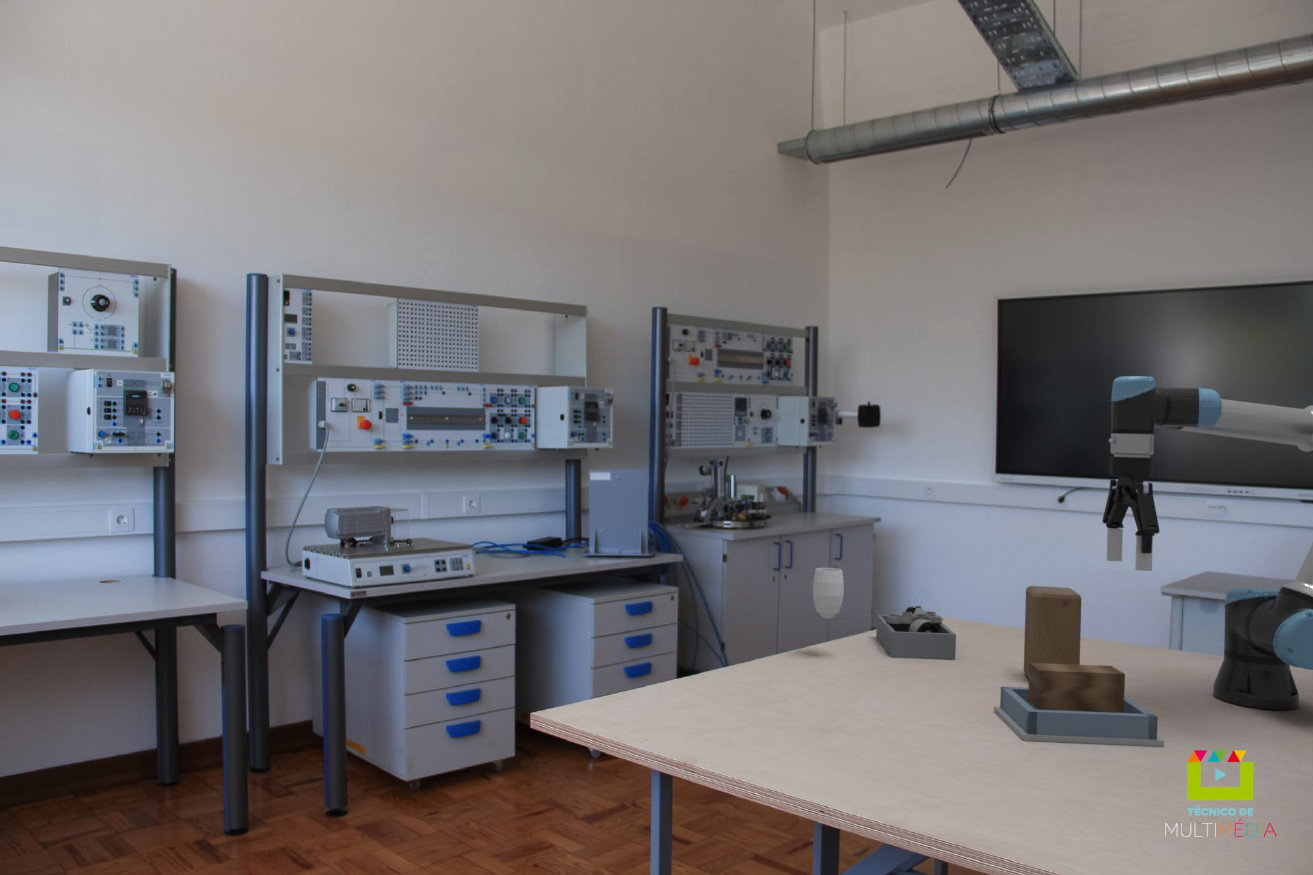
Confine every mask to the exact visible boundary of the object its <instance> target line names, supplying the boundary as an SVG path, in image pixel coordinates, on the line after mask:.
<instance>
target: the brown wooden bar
mask: <svg viewBox="0 0 1313 875" xmlns="http://www.w3.org/2000/svg"><path fill="white" fill-rule="evenodd" d="M1125 682H1126V673H1124V672H1123V671H1121V670H1120V669H1118V668H1116V667H1114V666H1113V665H1102V664H1101V665H1098V664H1097V665H1096V664H1095V665H1093V664H1080V665H1075V664H1048V663H1029V679H1028V688H1029V692H1028V700H1029V701H1030V702H1031V703H1032V704H1033V705H1035V706H1036V707H1037V708H1038V709H1046V710H1071V711H1096V712H1121V713H1124V695H1125V689H1126V688H1125V685H1126V683H1125Z"/></svg>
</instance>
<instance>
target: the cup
mask: <svg viewBox="0 0 1313 875" xmlns="http://www.w3.org/2000/svg"><path fill="white" fill-rule="evenodd" d="M812 582H813V584H812V586H813V587H812V596H813V604H814V608H815V610H816V612H817V613H819V615H820V616H821V618H824V619H826V620H830V619H832V618H835V616H836V615H837V614H839V613H840V611H841V608H842V606H843V601H844V600H843V599H844V594H845V591H844V590H845V588H844V586H845V581H844V573H843V570H842V569H841V568H836V567H835V568H834V567H817V568H815V571H814V576H813V581H812Z"/></svg>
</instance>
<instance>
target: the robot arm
mask: <svg viewBox="0 0 1313 875" xmlns="http://www.w3.org/2000/svg"><path fill="white" fill-rule="evenodd" d="M1110 402H1111V406H1110V407H1111V408H1110V410H1111V420H1110V422H1111V424H1110V425H1111V430H1110V438H1109V439H1108V443H1109V444H1110V453H1111V454H1112V455H1113V456H1111V457H1110V458H1109V474H1110V476H1114V477H1118V478H1117V479H1115V478H1114V479H1113V478H1111V479H1109V480H1110V481H1109V491H1108V496H1107V498H1106V499H1107V500H1106V502H1105V504H1106V505H1105V508H1104V513H1103V517H1102V523H1103V524H1105V526H1106V528H1107V529H1106V530H1107V535H1106V539H1107V540H1106V561H1107V562H1122V561H1123V538H1124V537H1123V532H1124V530H1123V529H1124V528H1125V527H1124V523H1123V521H1124V519H1125V517H1126V514H1127V512H1128V509H1129V508H1130V509H1131V512H1132V516H1133V519H1134V522H1135V525H1136V529H1137V530H1136V532H1135V534H1134V535H1135V536H1136V537H1135V538H1136V539H1135V568H1134V569H1135V571H1139V572H1140V571H1142V572H1143V571H1145V572H1152V571H1153V542H1154V539H1153V538H1154V536H1155V535H1157V534H1160V527H1159V526H1160V525H1159V522H1158V521H1159V520H1158V514H1157V510H1156V509H1157V508H1156V504H1155V499H1154V498H1155V497H1154V491H1153V490H1154V489H1153V486H1154V485H1153V483H1152V482H1145V478H1150V477H1152V476H1153V475H1154V474H1153V473H1154V472H1153V471H1154V460H1153V459H1152V457H1151V456H1152V455H1154V448H1155V445H1154V444H1155V428H1159V429H1167V430H1172V431H1173V430H1174V431H1184V432H1189V433H1190V432H1192V433H1198V434H1208V435H1216V436H1223V437H1230V438H1236V439H1245V440H1251V441H1253V440H1254V441H1260V442H1261V441H1262V442H1268V443H1276V444H1282V445H1290V446H1291V445H1292V446H1297V449H1299V450H1301V451H1302V452H1307V453H1313V405H1308V406H1306V407H1305V408H1296V407H1288V406H1283V405H1282V406H1279V405H1275V404H1274V405H1273V404H1263V403H1255V402H1251V401H1250V402H1247V401H1239V400H1232V399H1225V398H1221V396H1220V394H1219V392H1218V391H1217V390H1215V389H1211V388H1202V387H1159V386H1157V384H1156V379H1155V378H1154V377H1153V376H1143V375H1142V376H1140V375H1138V376H1137V375H1135V376H1134V375H1131V376H1130V375H1127V376H1125V375H1124V376H1118V377H1116V378H1115V379H1114V380H1113V383H1112V388H1111V398H1110ZM1223 606H1224V638H1223V639H1224V640H1223V641H1224V643H1223V644H1224V646H1223V648H1224V649H1223V650H1224V651H1223V660H1222V662H1221V666H1220V667H1219V671H1218V673H1217V675H1216V677H1215V680H1214V683H1213V690H1212V691H1213V692H1212V694H1213V696H1214V697H1215V698H1217V699H1219V700H1221V701H1224V702H1228V703H1231V704H1235V705H1238V706H1241V707H1247V708H1248V707H1249V708H1256V709H1263V710H1276V711H1278V710H1279V711H1285V710H1286V711H1287V710H1294V709H1297V708H1299V706H1300V694H1299V692H1298V689H1297V685H1296V682H1295V679H1294V676H1293V673H1292V669H1291V667H1295V668H1301V669H1303V670H1312V671H1313V542H1312V543H1311V545H1310V548H1309V549H1308V551H1307V554H1306V555H1305V558H1304V560H1303V563H1302V564H1301V566H1300V568H1299V570H1298V573H1297V575H1296V577H1295V579H1294V581H1292V582H1289V583H1286V584H1282V585H1281V587H1280V589H1263V588H1262V589H1259V588H1258V589H1257V588H1231V589H1229V590H1228V591H1227V592H1226V594H1225V602H1224V605H1223Z"/></svg>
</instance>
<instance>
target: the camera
mask: <svg viewBox="0 0 1313 875" xmlns="http://www.w3.org/2000/svg"><path fill="white" fill-rule="evenodd" d="M943 621H944V618H942V616H941V615H938V614H936V612H935V611H930V610H929V611H926V610H924V609H923V608H922V607H921V605H916V606H914V605H911V606H907V608H906V610H905V611H903V612H902V613H897V614H891V613H890V614H889V616H887V624H888V625H890V626H891V627H892V628H893V629H894V630H895V632H921V633H940V631H939V624H941V623H943Z"/></svg>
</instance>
